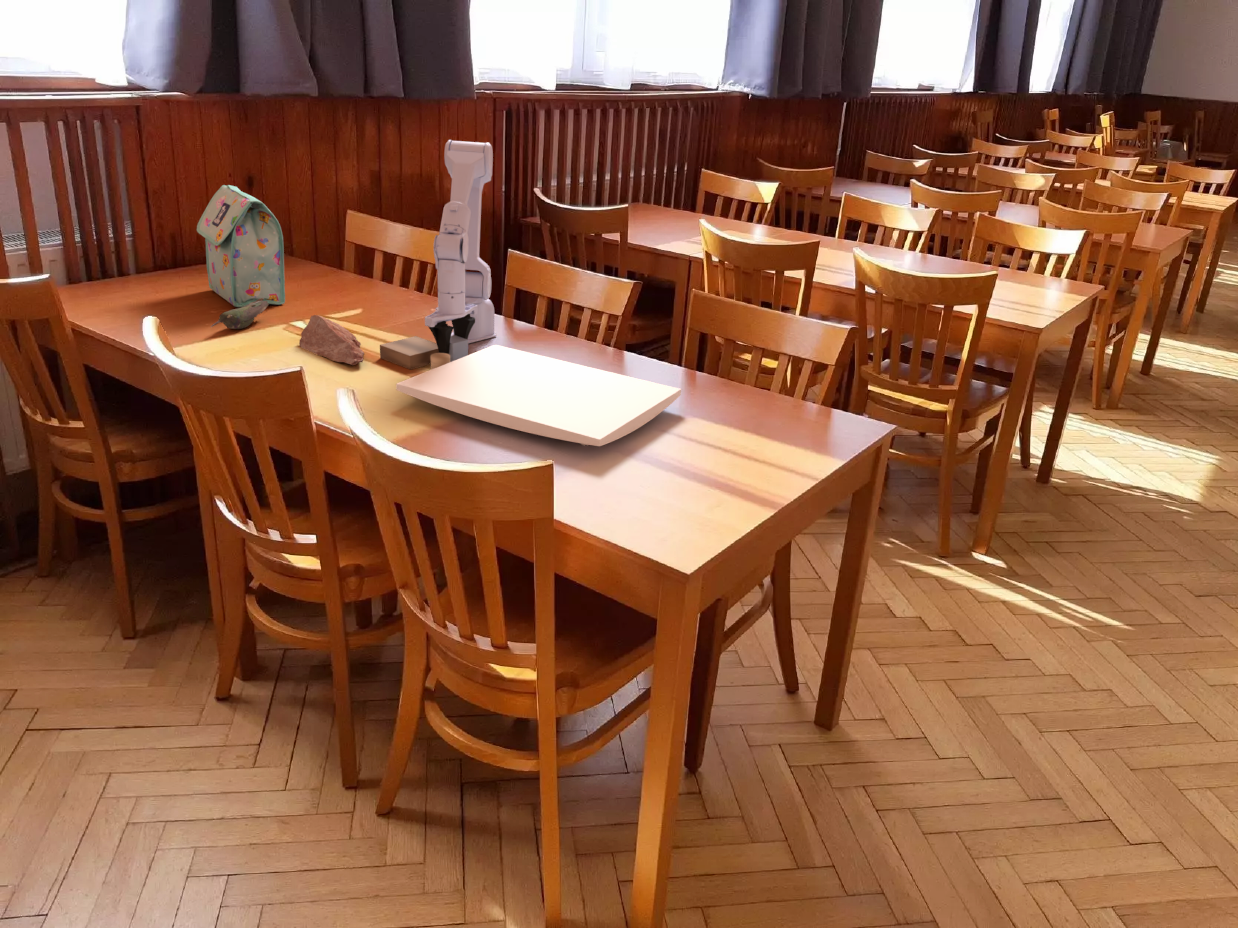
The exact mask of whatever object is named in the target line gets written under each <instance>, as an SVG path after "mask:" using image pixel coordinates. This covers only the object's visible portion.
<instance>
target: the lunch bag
mask: <svg viewBox="0 0 1238 928" xmlns="http://www.w3.org/2000/svg"><path fill="white" fill-rule="evenodd" d="M196 232H197V233H198V235H201V236H202V237H203V238H205V239H204V242H205V257H206V270H207V272H206V273H207V278H208V286H209V287H208V288H209V289H210V290H212V291H213V292H215V293H216V294H217V295H219V296H220V297H221V298H223V299H224V300H225V301H227V302H228V303H229V304H231V305H232V306H233V307H235V308H242V307H244V306H246V305H248V304H250V303H252V302H254V301H256V300H258V299H259V298H264V300H263V301H267V302H268V304H269V305H284V304H285V302H286V289H285V287H286V285H285V283H286V281H285V253H284V252H285V251H284V250H285V249H284V248H285V247H284V235H283V231H282V227H281V224H280V223H279V220H278V219H277V218H276V216H275V215H274V213H273V212H272V211H271V210H270V209H269V208H268V206H266V204H265V203H263V202H262V201H261V200H259V199H258V198H256V197H254V196H252V195H250V194H248V193H246V192H243V190H242V191H241V189H240V188H238V186H236V185H235V186H234V185H230V184H227V185H225V184H223V185H221V186H220V188H218V190H217V191H216V192H215V193H214V194H213V196H212V198H211V199H210V200H209V202H208V204H207V206H206V208H205V209H204V211H203V213H202V214H201V217H200V218H199V220H198V222H197V225H196Z"/></svg>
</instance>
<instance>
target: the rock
mask: <svg viewBox="0 0 1238 928" xmlns="http://www.w3.org/2000/svg"><path fill="white" fill-rule="evenodd" d="M300 336H301V337H300V339H299V343H298V344H299V347H300V348H301V349H304V350H306V351H308V352H311V353H313V354H315V355H316V354H317V356H321V357H323V358H327V359H329V360H331V361H333V362H338V363H345V364H348V365H351V366H355V365H357V364H359V363H363V361H364V355H365V352H364V351H363V349H361V348H360V347H361V345H362V344H361V342H360V341H358V339H357V337H356V336H355V335H354V334H353V333H352V332H350V330H348V329H347V328H345V327H344V326H342V325H341V324H339V323H337V322H335V321H332V320H331V319H329V318H326V317H323V316H322V315H319V314H318V315H317V314H314V315H311V316H310V319H309V321H308V323H307V325H306V326H305V327H304V329H303V330H302V331H301V333H300Z"/></svg>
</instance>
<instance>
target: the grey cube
mask: <svg viewBox="0 0 1238 928" xmlns="http://www.w3.org/2000/svg"><path fill="white" fill-rule="evenodd" d="M449 355H450V362H452V361H455V360H457V359H460V358H462V357H465V356H467V355H469V343H468V340H467V339H464V338H461V337H458V336H455V335H453V336H451V337H450V349H449Z"/></svg>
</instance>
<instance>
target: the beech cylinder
mask: <svg viewBox="0 0 1238 928" xmlns="http://www.w3.org/2000/svg"><path fill="white" fill-rule="evenodd" d="M447 363H450V355H449V354H446V353H434V354H431V364H430V370H432V369H434V368H437V367H440V366H442V365H445V364H447Z"/></svg>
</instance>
